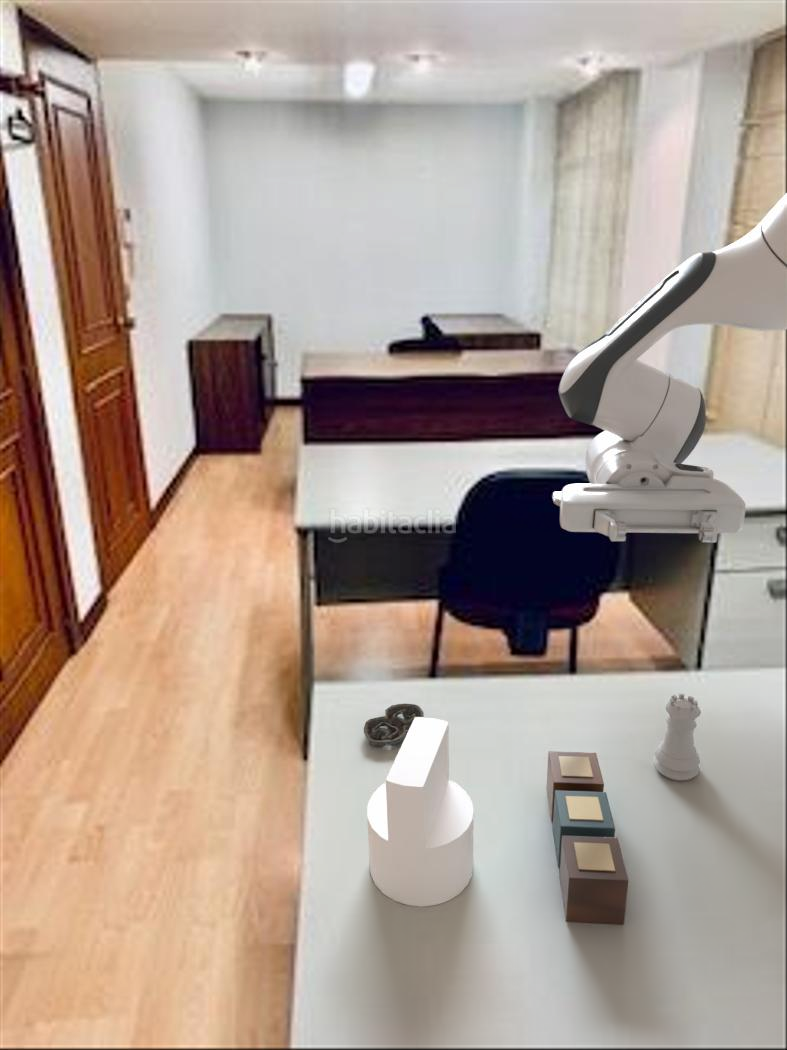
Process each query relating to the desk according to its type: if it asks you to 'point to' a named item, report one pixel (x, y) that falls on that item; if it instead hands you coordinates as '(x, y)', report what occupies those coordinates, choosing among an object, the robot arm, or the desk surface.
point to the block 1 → (572, 774)
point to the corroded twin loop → (392, 724)
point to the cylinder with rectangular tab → (421, 822)
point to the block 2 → (593, 880)
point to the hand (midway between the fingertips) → (664, 535)
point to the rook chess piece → (679, 741)
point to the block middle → (581, 816)
